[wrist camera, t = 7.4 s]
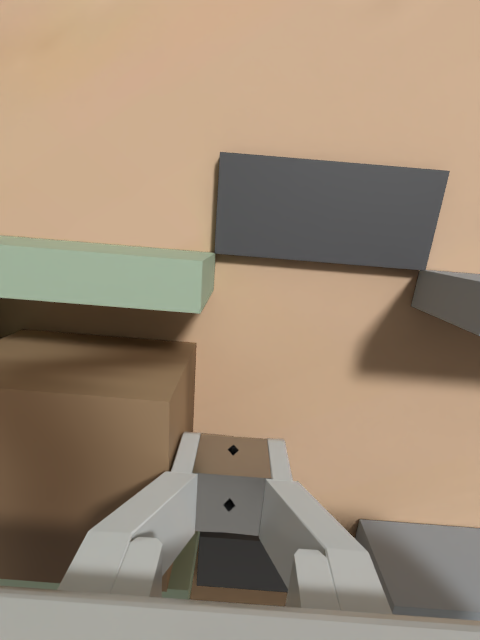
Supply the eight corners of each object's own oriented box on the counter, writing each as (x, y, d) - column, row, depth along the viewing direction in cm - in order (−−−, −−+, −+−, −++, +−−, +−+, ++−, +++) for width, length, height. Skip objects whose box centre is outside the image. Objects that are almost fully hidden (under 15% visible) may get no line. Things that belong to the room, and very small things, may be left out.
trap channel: (714, 195, 9) (941, 176, 6) (520, 602, 14) (595, 702, 11) (-73, 130, 9) (-230, 79, 6) (6, 563, 13) (-59, 654, 11)
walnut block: (197, 341, 11) (169, 402, 7) (191, 479, 12) (166, 591, 8) (27, 327, 11) (-98, 380, 7) (44, 467, 12) (-48, 574, 8)
